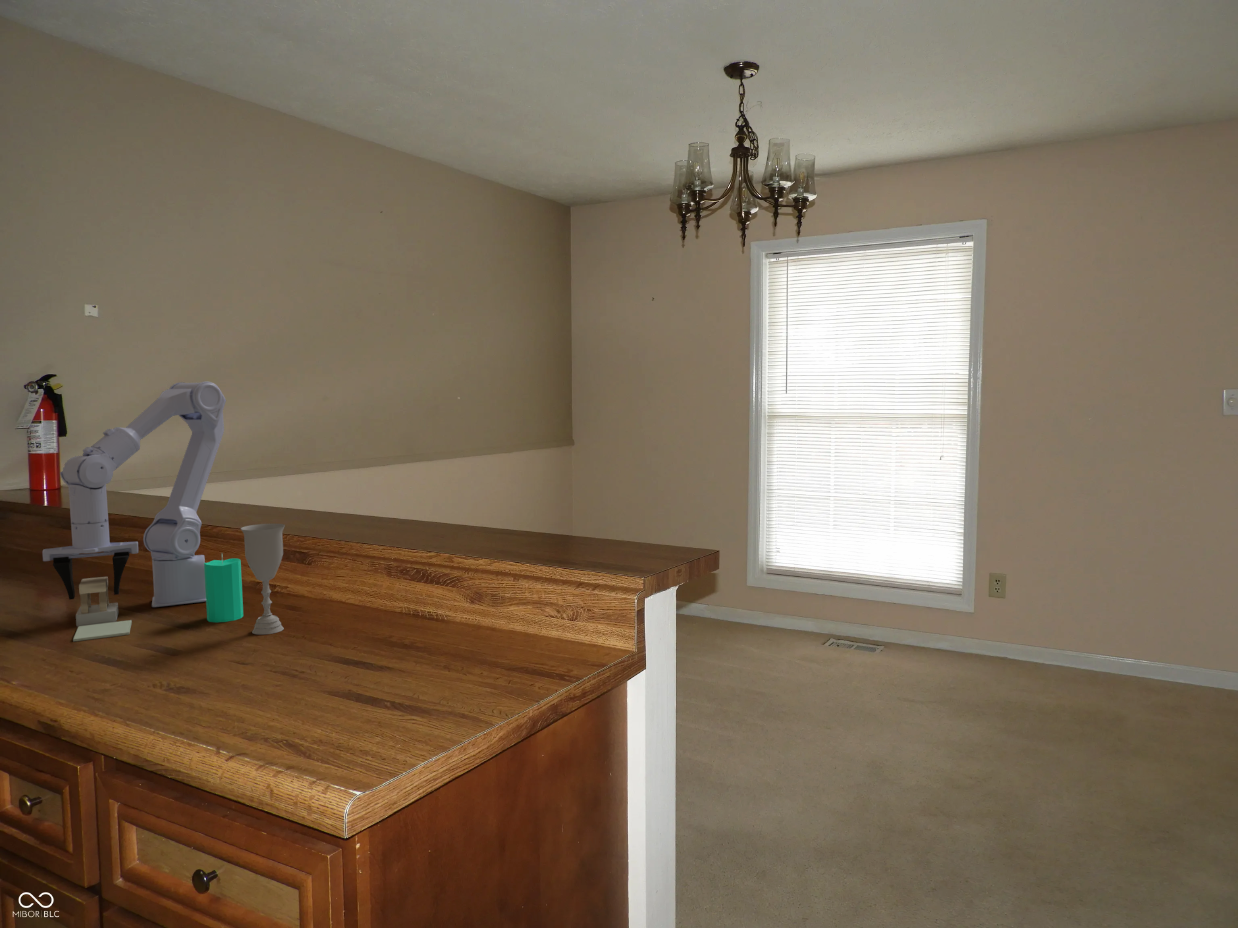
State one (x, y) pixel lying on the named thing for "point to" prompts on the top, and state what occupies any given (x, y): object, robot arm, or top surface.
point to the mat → (102, 630)
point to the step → (97, 615)
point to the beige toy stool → (92, 587)
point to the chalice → (264, 567)
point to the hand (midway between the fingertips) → (94, 595)
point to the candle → (223, 590)
